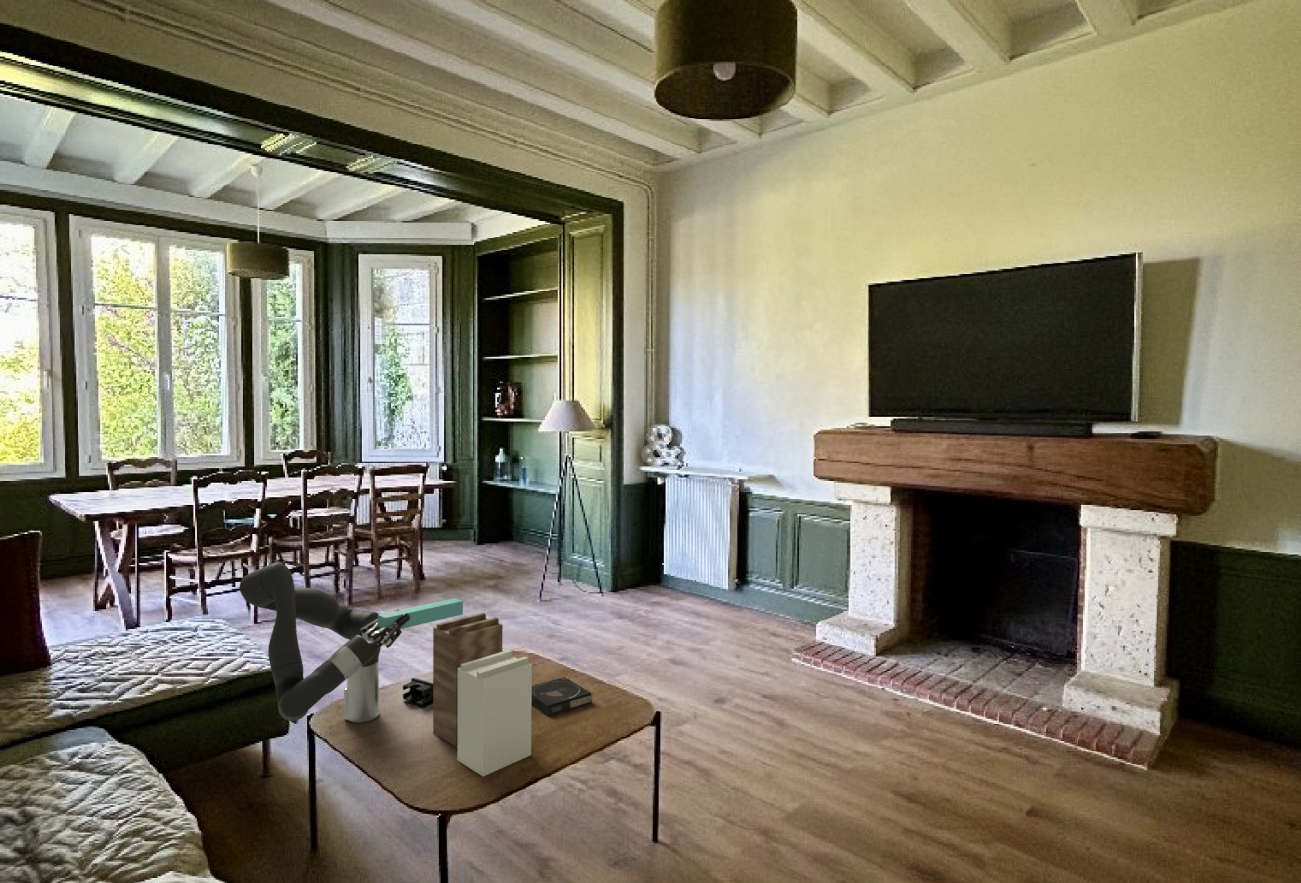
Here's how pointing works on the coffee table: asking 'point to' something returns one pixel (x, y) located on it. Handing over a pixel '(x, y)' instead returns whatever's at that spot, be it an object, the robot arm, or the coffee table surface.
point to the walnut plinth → (458, 664)
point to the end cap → (418, 693)
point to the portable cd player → (559, 696)
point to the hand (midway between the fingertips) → (403, 613)
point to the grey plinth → (494, 712)
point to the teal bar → (424, 613)
